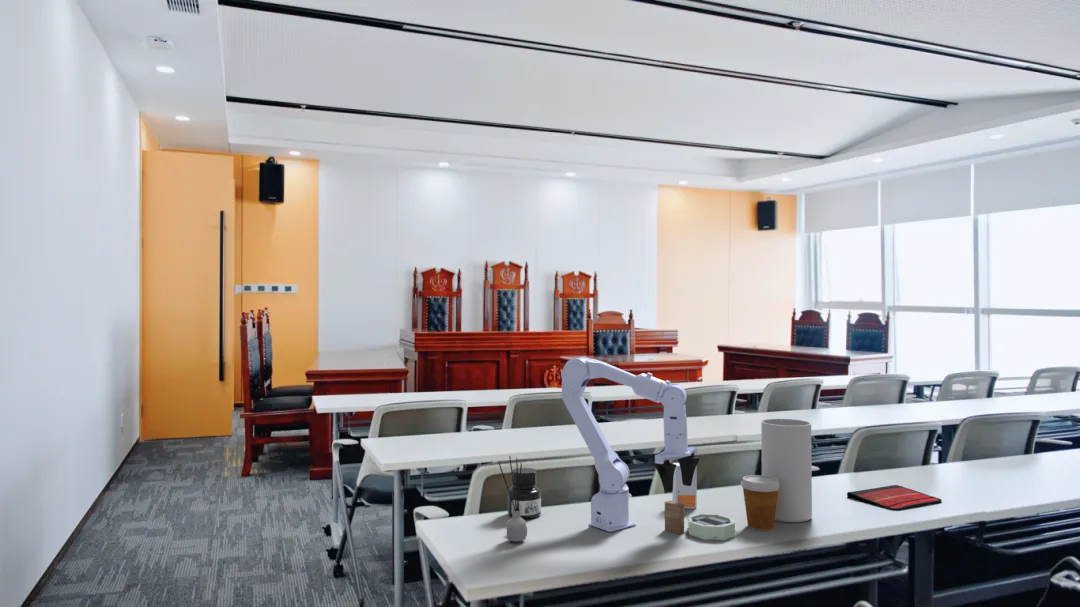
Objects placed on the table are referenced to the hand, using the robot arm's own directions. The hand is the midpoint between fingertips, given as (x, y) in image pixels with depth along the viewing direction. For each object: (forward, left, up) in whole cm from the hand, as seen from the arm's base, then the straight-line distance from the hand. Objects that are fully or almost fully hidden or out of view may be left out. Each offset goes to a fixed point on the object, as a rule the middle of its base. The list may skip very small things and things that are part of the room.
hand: (677, 488), depth 176 cm
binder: (+71, -20, -11) cm, 74 cm away
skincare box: (+18, +13, -11) cm, 25 cm away
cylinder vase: (+32, -10, -11) cm, 35 cm away
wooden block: (-1, 0, -11) cm, 11 cm away
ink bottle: (-22, +35, -11) cm, 42 cm away
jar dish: (+5, -6, -11) cm, 13 cm away
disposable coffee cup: (+19, -11, -11) cm, 24 cm away
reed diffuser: (-37, +19, -11) cm, 43 cm away
